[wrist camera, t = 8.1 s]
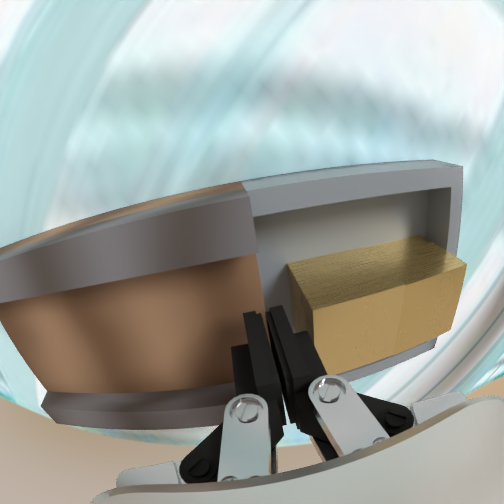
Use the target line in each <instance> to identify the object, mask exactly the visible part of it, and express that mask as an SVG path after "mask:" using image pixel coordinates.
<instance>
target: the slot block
mask: <svg viewBox="0 0 504 504" xmlns="http://www.w3.org/2000/svg"><path fill="white" fill-rule="evenodd" d="M256 253H259V251H258V245H257V238H256V232H255V226H254V220H253V214H252V208H251V202H250V196H249V195H248V193H247V191H246V190H245V188H244V186H243V185H242V183H241V181H239V182H234V183H228V184H223V185H218V186H213V187H208V188H203V189H199V190H194V191H189V192H185V193H180V194H176V195H172V196H167V197H163V198H159V199H155V200H151V201H147V202H143V203H139V204H135V205H131V206H128V207H124V208H120V209H117V210H113V211H109V212H106V213H102V214H99V215H96V216H92V217H89V218H86V219H82V220H79V221H76V222H73V223H70V224H66V225H63V226H60V227H57V228H54V229H51V230H48V231H46V232H43V233H40V234H37V235H34V236H31V237H29V238H26V239H23V240H20V241H18V242H15V243H13V244H10V245H7V246H5V247H2V248H0V321H1V323H2V325H3V327H4V328H5V330H6V332H7V334H8V335H9V337H10V339H11V340H12V342H13V343H14V345H15V347H16V348H17V350H18V351H19V353H20V354H21V356H22V357H23V359H24V360H25V362H26V363H27V365H28V366H29V367H30V369H31V370H32V372H33V373H34V374H35V376H36V377H37V378H38V380H39V381H40V382H41V384H42V385H43V386H44V387H45V389H46V390H47V393H46V395H45V398H44V400H43V402H42V404H41V407H42V408H43V409H44V410H45V411H46V413H47V414H48V415H49V416H50V417H51V418H52V419H53V420H54V421H55V422H56V423H59V424H65V425H73V426H82V427H92V428H105V429H127V430H158V429H181V428H194V427H205V426H214V425H220V424H221V423H222V422H223V421H224V413H225V408H226V405H227V404H228V403H229V401H231V400H232V399H233V398H234V397H236V391H235V383H234V374H233V365H232V355H231V347H232V346H238V345H243V344H248V340H247V335H246V329H245V323H244V318H243V313H246V312H251V311H256V314H258V313H261V314H262V318H263V321H264V325H265V328H266V332H267V336H268V339H269V333H268V327H267V321H266V315H265V312H266V311H265V305H264V299H263V293H262V287H261V281H260V275H259V269H258V263H257V257H256ZM269 343H270V339H269ZM270 347H271V345H270Z"/></svg>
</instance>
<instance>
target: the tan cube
mask: <svg viewBox="0 0 504 504" xmlns="http://www.w3.org/2000/svg"><path fill="white" fill-rule="evenodd" d="M364 249H365V250H366V251H367V252H368V253H370V254H371V255H372V256H373V257H374V258H376V259H377V260H378V261H379V262H380V263H382V264H383V265H384V266H385V267H386V268H387V269H389V270H390V271H391V272H392V273H393V274H394V275H395V276H397V277H398V278H399V279H400V280H401V281H402V282H403V283H405V291H404V298H403V305H402V311H401V317H400V322H399V328H398V333H397V338H396V342H395V347H394V351H393V355H396V354H398V353H400V352H403V351H405V350H408V349H410V348H412V347H415V346H417V345H419V344H422V343H424V342H426V341H428V340H430V339H433V338H435V337H437V336H439V335H441V334H443V333H445V332H447V331H449V330H450V329H451V326H452V323H453V319H454V316H455V313H456V309H457V305H458V302H459V298H460V294H461V289H462V285H463V281H464V276H465V271H466V266H467V264H466V263H465V262H463V261H462V260H460V259H459V258H457V257H455V256H454V255H452V254H451V253H449V252H447V251H446V250H444V249H443V248H441V247H439V246H438V245H436V244H434V243H433V242H431V241H429V240H428V239H426V238H424V237H423V236H421V235H417V236H413V237H409V238H404V239H400V240H396V241H391V242H387V243H382V244H378V245H374V246H369V247H365V248H364ZM393 355H392V356H393Z"/></svg>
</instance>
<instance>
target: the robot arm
mask: <svg viewBox="0 0 504 504" xmlns="http://www.w3.org/2000/svg"><path fill="white" fill-rule="evenodd" d="M269 310H270V311H268V312H265V315H266V321H267V327H268V333H269V339H270V343H269V339H268V336H267V332H266V328H265V325H264V321H263V318H262V314H261V313H258V314H256V311H251V312H246V313H243V318H244V323H245V329H246V335H247V340H248V344H243V345H238V346H232V347H231V355H232V365H233V374H234V383H235V391H236V397H234V398H233V399H232V400H231V401H229V403H228V404H227V405H226V408H225V413H224V421H223V422H222V423H221V424H220V425H219V426H218V427H217V428H216V429H215V430H214V431H213V432H212V433H211V434H210V435H209V436H208V437H207V438H206V439H204V440H203V441H202V442H201V443H200V444H199V445H198V446H197V447H196V448H195V449H194V450H193V451H191V452H190V453H189V454H188V455H187V456H186V457H185V458H184V459H183V460H182V461H180V462H176V463H174V462H173V461H171V462H166V463H161V464H157V465H151V466H146V467H140V468H133V469H128V470H125V471H123V472H122V473H120V474H119V476H118V478H117V482H116V485H117V488H115V489H112V490H108V491H106V492H103V493H101V494H99V495H97V496H96V497H95V498H94V499H93V500H92V501H91V503H90V504H504V399H503V398H501V397H499V396H483V397H476V398H473V399H469V400H468V399H467V397H466V396H465V395H464V394H462V393H460V392H450V393H447V394H444V395H441V396H437V397H434V398H430V399H427V400H423V401H419V402H415V403H412V404H411V406H408V407H405V406H402V405H399V404H395V403H391V402H388V401H384V400H380V399H377V398H373V397H370V396H366V395H363V394H359V393H356V392H355V391H354V389H353V388H352V387H351V385H350V384H349V383H348V382H347V381H346V380H345V379H344V378H342V377H340V376H337V375H328V374H327V372H326V370H325V368H324V365H323V363H322V361H321V359H320V357H319V355H318V352H317V350H316V348H315V346H314V344H313V342H312V340H311V337H310V335H309V333H308V331H302V332H298V333H293V330H292V328H291V325H290V323H289V320H288V318H287V315H286V313H285V310H284V308H283V306H282V305H279V306H275V307H270V308H269ZM270 345H271V347H270ZM282 395H283V397H282ZM283 398H284V402H285V405H286V409H287V413H288V416H289V420H290V423H291V424H292V423H296V426H297V429H300V432H303V433H305V434H308V435H309V436H310V439H311V441H312V443H313V445H314V446H315V448H316V450H317V452H318V454H319V456H320V457H321V459H322V461H323V462H322V463H319V464H315V465H312V466H308V467H304V468H300V469H296V470H291V471H287V472H282V473H278V461H277V459H278V458H277V443H278V442H279V441H280V440H281V438H282V437H283V436H284V433H283V427H282V426H284V425H287V424H286V417H285V410H284V404H283Z"/></svg>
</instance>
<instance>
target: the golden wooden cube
mask: <svg viewBox="0 0 504 504" xmlns="http://www.w3.org/2000/svg"><path fill="white" fill-rule="evenodd" d="M287 269H288V277H289V286H290V296H291V305H292V315H293V325H294V330H295V332H296V333H298V332H302V331H308V333H309V335H310V337H311V340H312V342H313V344H314V346H315V348H316V350H317V352H318V355H319V357H320V359H321V361H322V363H323V365H324V368H325V370H326V372H327V374H328V375H336V374H339V373H342V372H346V371H349V370H352V369H355V368H358V367H361V366H364V365H367V364H370V363H372V362H375V361H378V360H381V359H383V358H386V357H388V356H391V355H393V351H394V347H395V342H396V338H397V333H398V328H399V322H400V317H401V311H402V305H403V298H404V291H405V283H403V282H402V281H401V280H400V279H399V278H398V277H397V276H395V275H394V274H393V273H392V272H391V271H390V270H389V269H387V268H386V267H385V266H384V265H383V264H382V263H380V262H379V261H378V260H377V259H376V258H374V257H373V256H372V255H371V254H370V253H368V252H367V251H366V250H365V249H364V248H362V247H360V248H355V249H351V250H346V251H342V252H337V253H332V254H328V255H323V256H318V257H313V258H309V259H304V260H299V261H294V262H290V263H287Z"/></svg>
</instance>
